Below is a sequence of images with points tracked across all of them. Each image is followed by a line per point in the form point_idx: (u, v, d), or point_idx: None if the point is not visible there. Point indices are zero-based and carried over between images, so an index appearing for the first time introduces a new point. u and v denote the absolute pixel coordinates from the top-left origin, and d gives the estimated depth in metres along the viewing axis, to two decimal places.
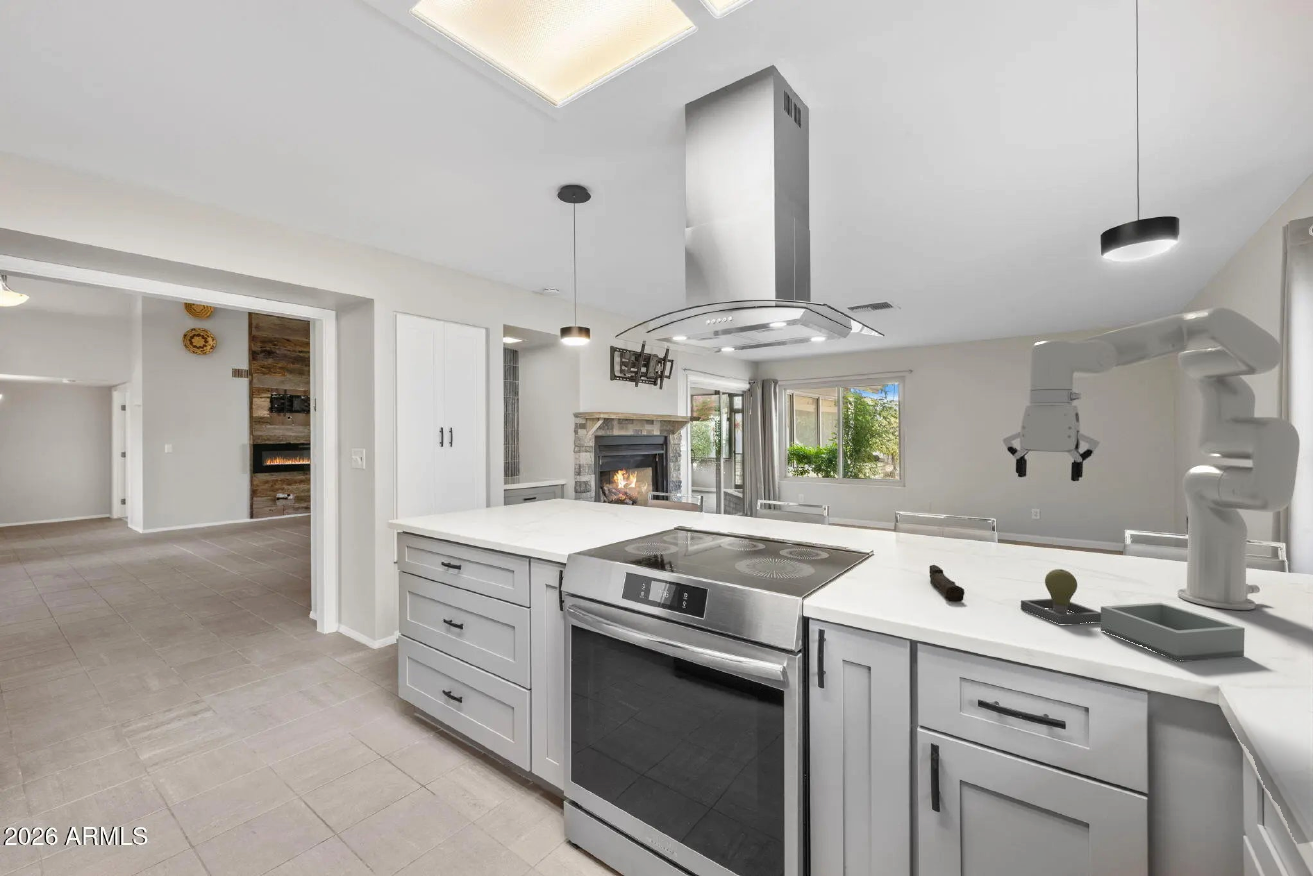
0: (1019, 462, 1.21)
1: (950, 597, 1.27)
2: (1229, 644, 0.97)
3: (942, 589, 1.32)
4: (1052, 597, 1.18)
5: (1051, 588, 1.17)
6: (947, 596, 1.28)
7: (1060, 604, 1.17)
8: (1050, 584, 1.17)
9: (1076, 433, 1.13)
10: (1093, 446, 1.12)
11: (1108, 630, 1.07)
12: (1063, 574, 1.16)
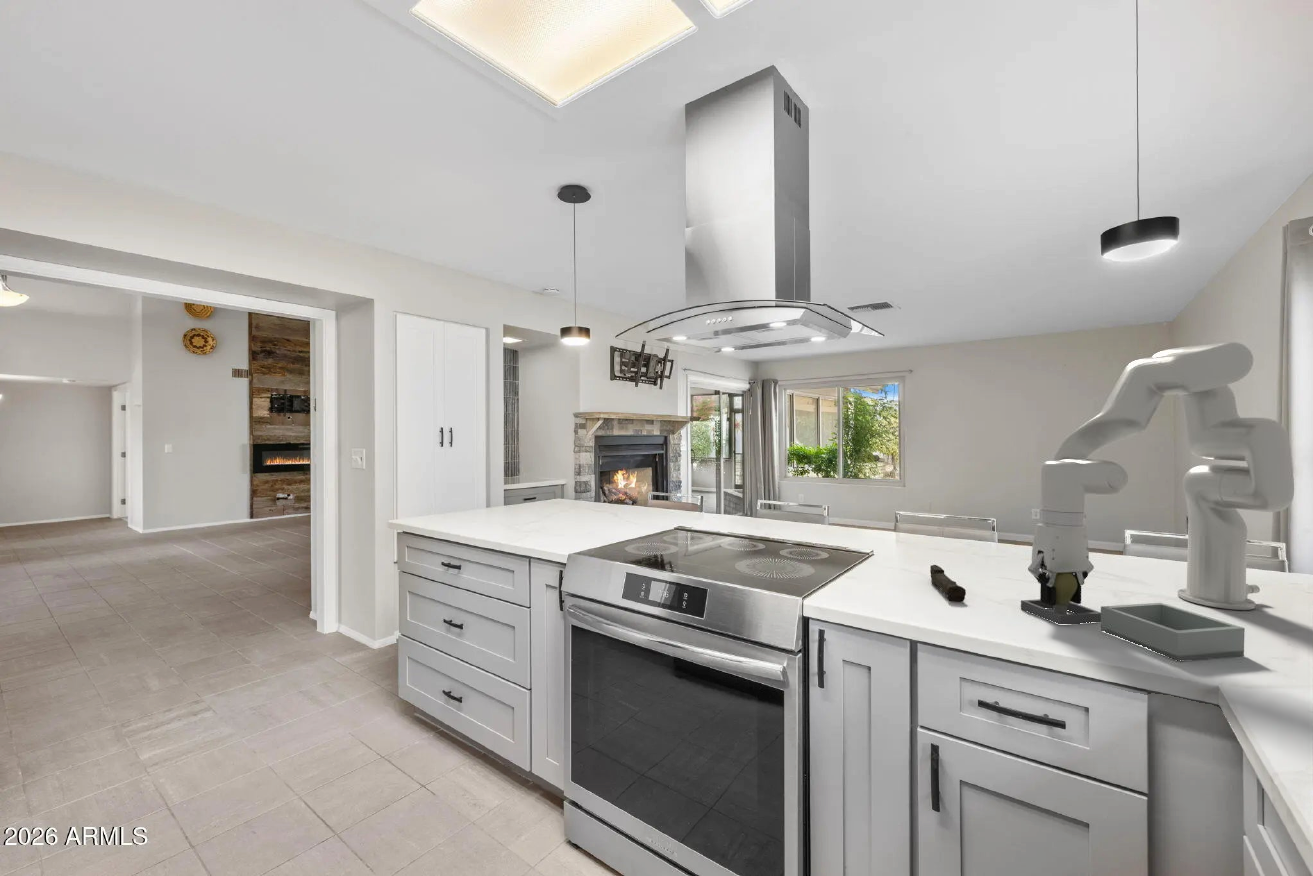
0: (1054, 590, 1.16)
1: (951, 597, 1.27)
2: (1229, 644, 0.97)
3: (943, 589, 1.32)
4: None
5: None
6: (948, 596, 1.28)
7: (1060, 604, 1.17)
8: None
9: None
10: (1089, 569, 1.18)
11: (1108, 630, 1.07)
12: (1063, 574, 1.16)
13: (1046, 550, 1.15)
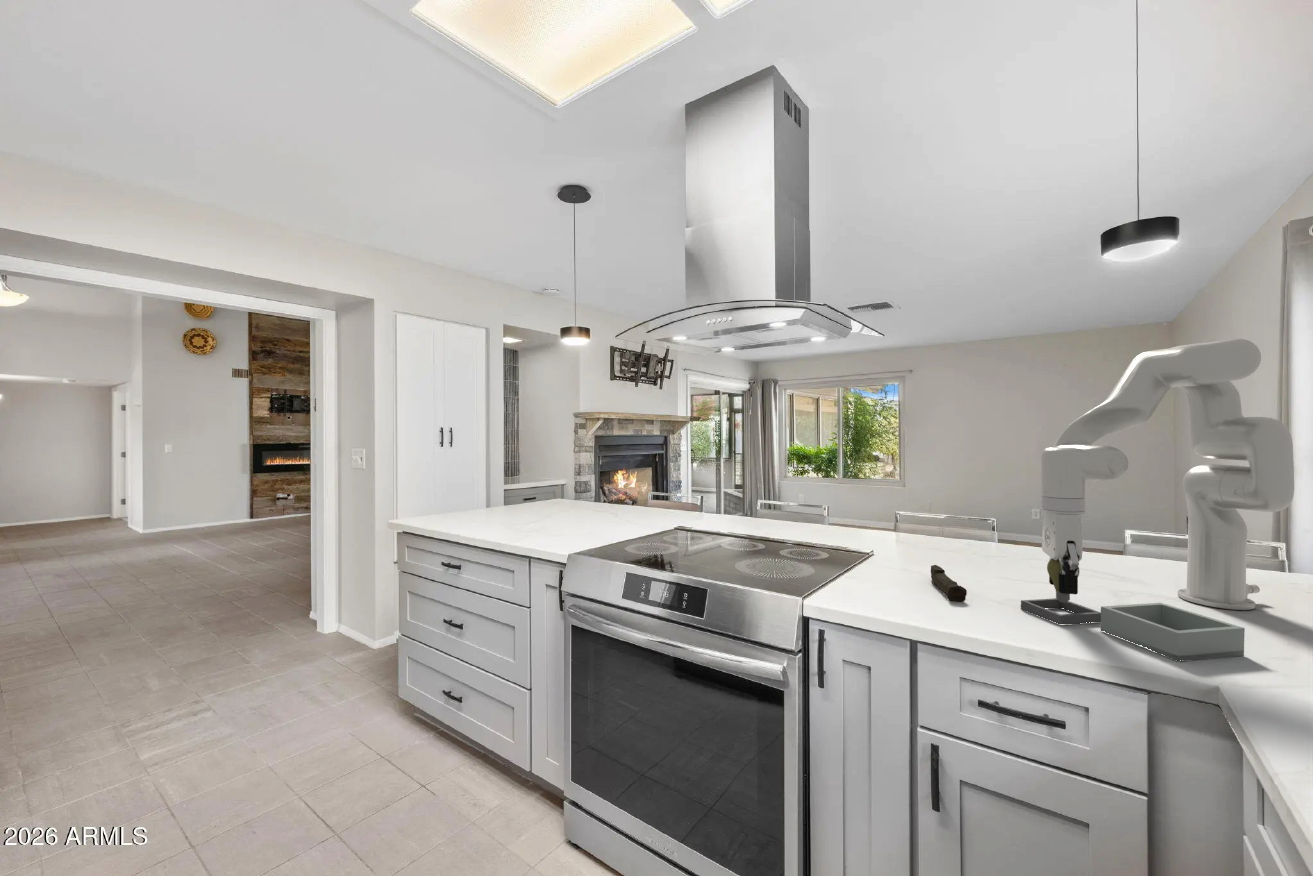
0: None
1: (952, 597, 1.27)
2: (1229, 644, 0.97)
3: (944, 589, 1.32)
4: None
5: None
6: (949, 596, 1.27)
7: None
8: None
9: None
10: None
11: (1108, 630, 1.07)
12: None
13: (1078, 539, 1.12)
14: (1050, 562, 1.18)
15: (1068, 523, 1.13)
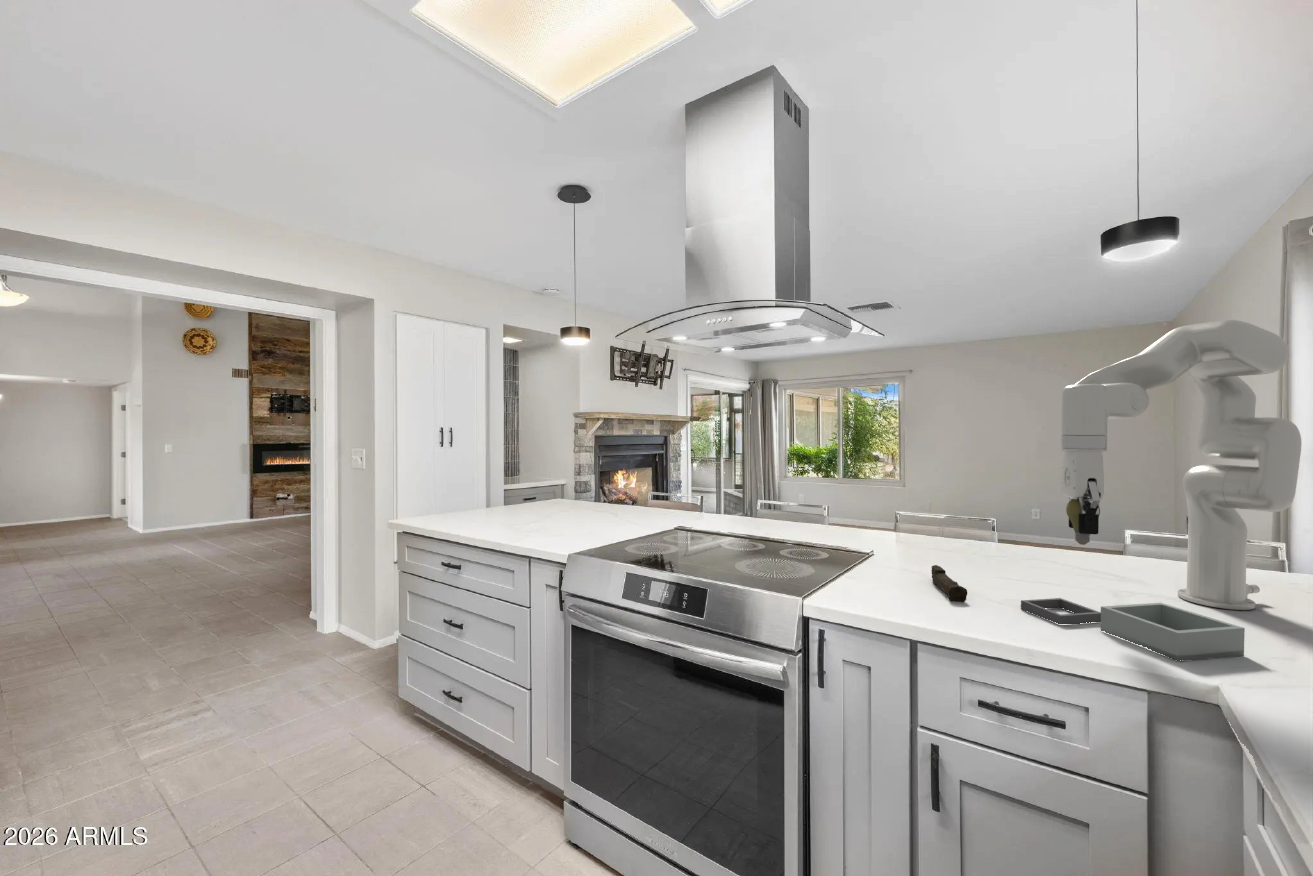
0: None
1: (953, 597, 1.27)
2: (1229, 644, 0.97)
3: (945, 589, 1.32)
4: None
5: None
6: (950, 596, 1.27)
7: None
8: None
9: None
10: None
11: (1108, 630, 1.07)
12: None
13: (1099, 476, 1.09)
14: (1069, 503, 1.15)
15: (1089, 460, 1.10)
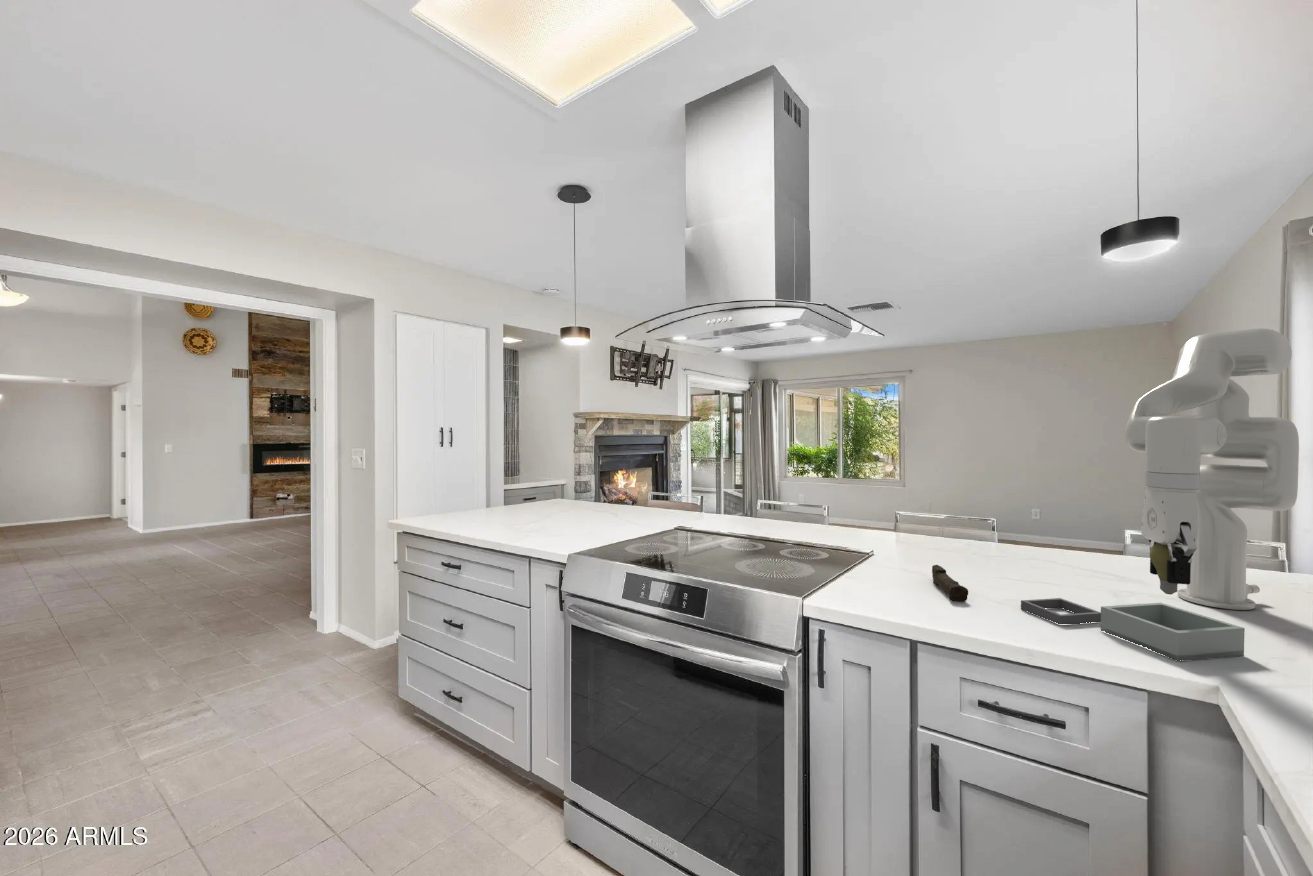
0: None
1: (954, 597, 1.27)
2: (1229, 644, 0.97)
3: (946, 589, 1.32)
4: None
5: None
6: (951, 596, 1.27)
7: None
8: None
9: None
10: None
11: (1108, 630, 1.07)
12: None
13: (1194, 520, 0.97)
14: (1154, 548, 1.03)
15: (1182, 502, 0.98)
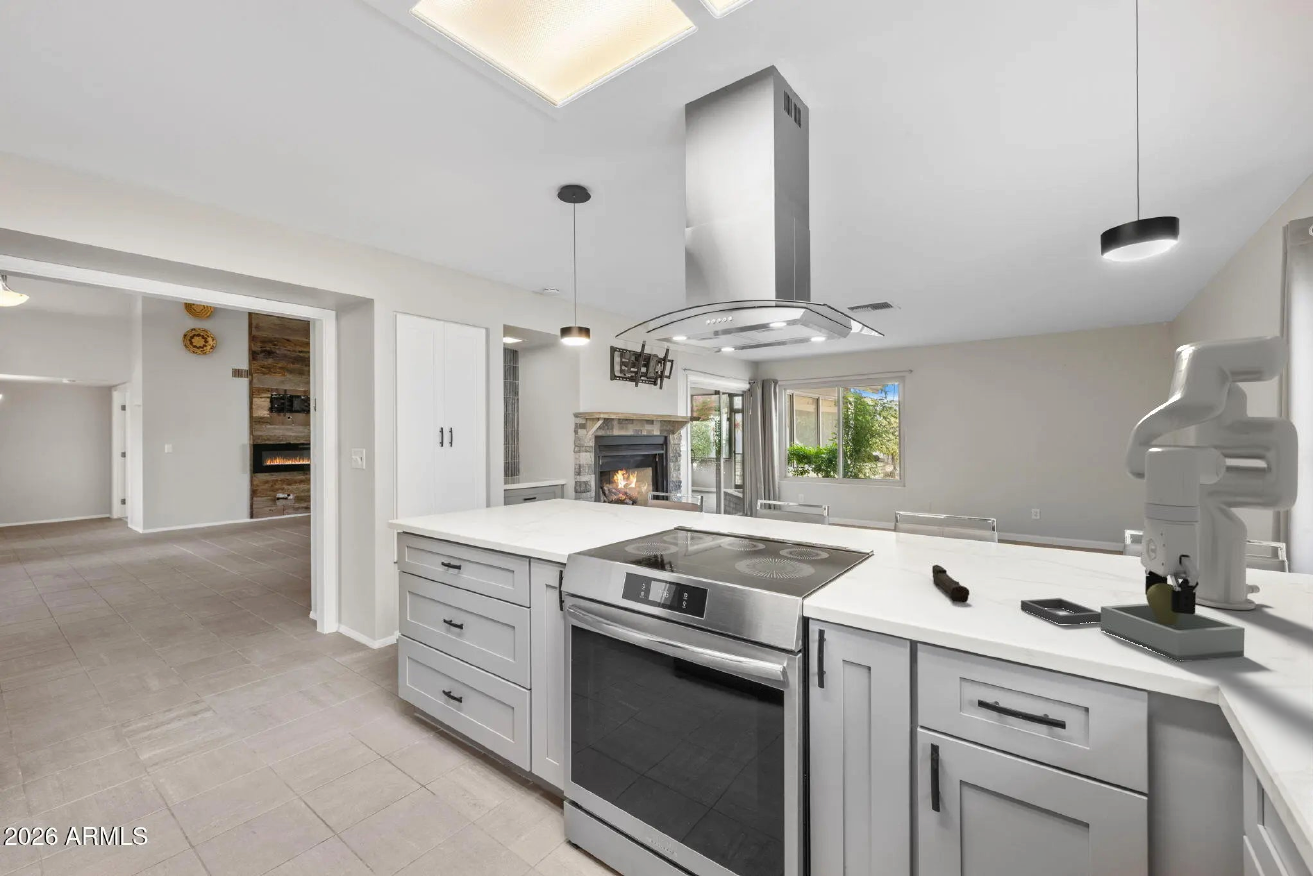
0: None
1: (955, 597, 1.27)
2: (1229, 644, 0.97)
3: (946, 589, 1.32)
4: (1168, 618, 1.02)
5: None
6: (952, 596, 1.27)
7: (1175, 623, 1.02)
8: None
9: None
10: None
11: (1108, 630, 1.07)
12: None
13: (1193, 553, 0.98)
14: (1151, 591, 1.04)
15: (1181, 534, 0.98)
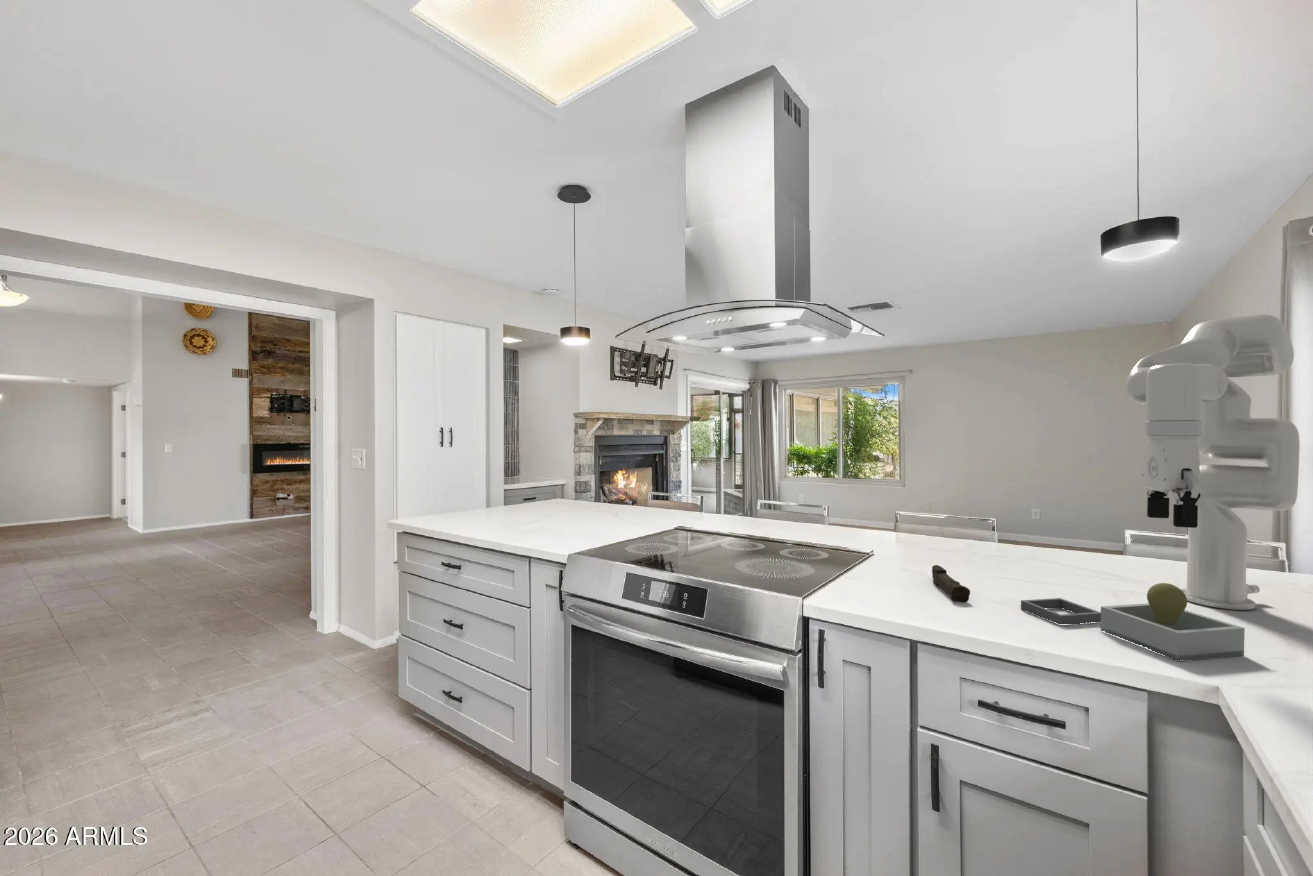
0: None
1: (956, 597, 1.27)
2: (1229, 644, 0.97)
3: (947, 589, 1.31)
4: (1168, 617, 1.02)
5: (1176, 607, 1.01)
6: (953, 596, 1.27)
7: (1175, 623, 1.02)
8: (1175, 604, 1.01)
9: None
10: None
11: (1108, 630, 1.07)
12: (1179, 589, 1.02)
13: (1195, 467, 0.97)
14: (1152, 590, 1.04)
15: (1183, 448, 0.98)
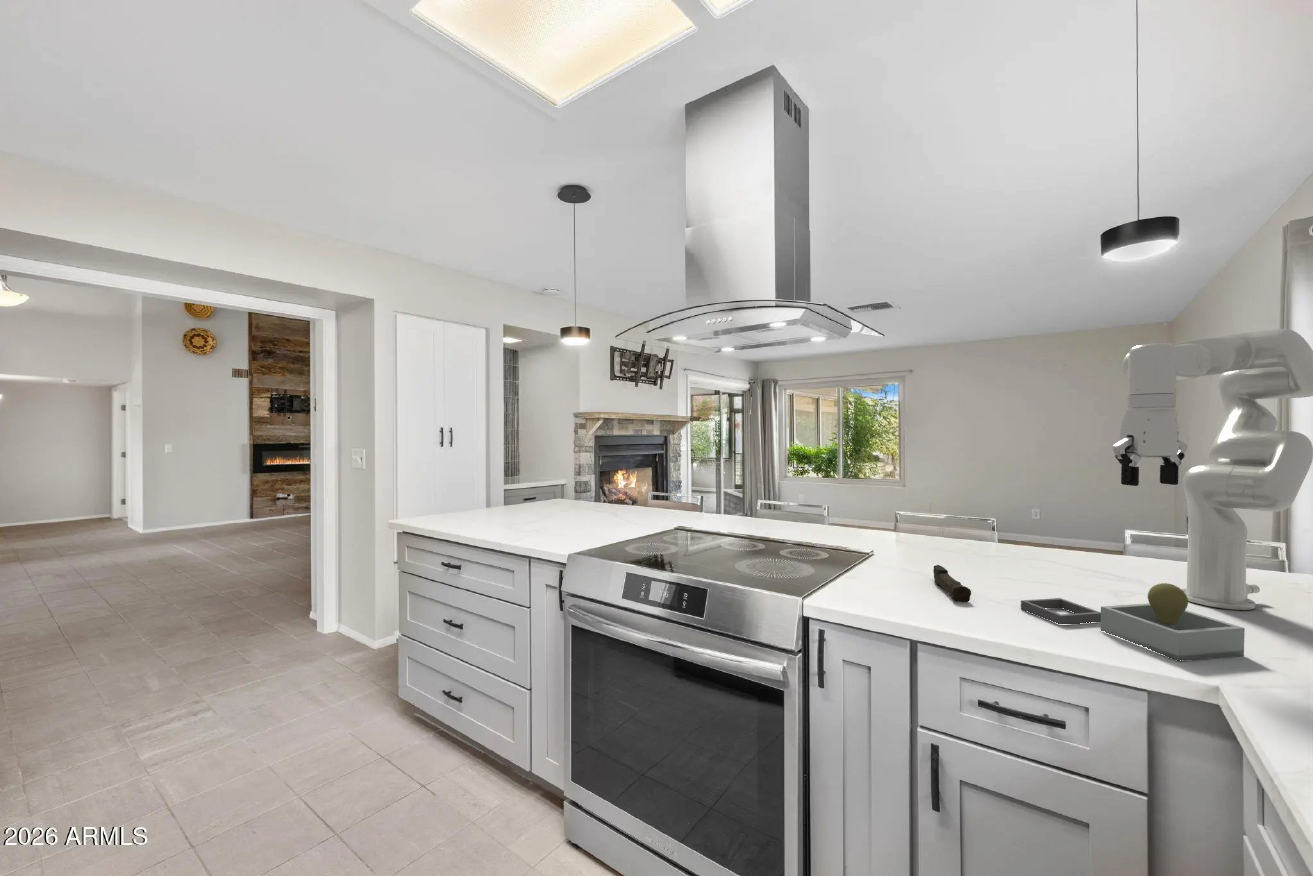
0: (1137, 470, 1.13)
1: (957, 598, 1.27)
2: (1229, 644, 0.97)
3: (948, 589, 1.31)
4: (1168, 618, 1.02)
5: (1177, 608, 1.01)
6: (954, 597, 1.27)
7: (1175, 624, 1.02)
8: (1175, 604, 1.01)
9: None
10: (1184, 449, 1.16)
11: (1108, 630, 1.07)
12: (1180, 589, 1.02)
13: (1136, 433, 1.13)
14: (1153, 590, 1.04)
15: (1129, 418, 1.15)
